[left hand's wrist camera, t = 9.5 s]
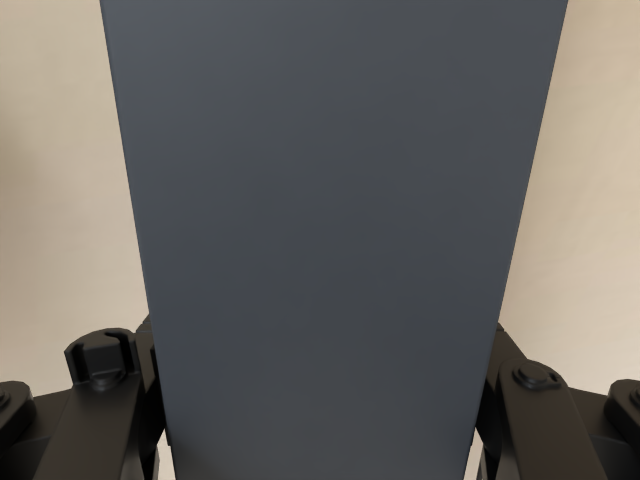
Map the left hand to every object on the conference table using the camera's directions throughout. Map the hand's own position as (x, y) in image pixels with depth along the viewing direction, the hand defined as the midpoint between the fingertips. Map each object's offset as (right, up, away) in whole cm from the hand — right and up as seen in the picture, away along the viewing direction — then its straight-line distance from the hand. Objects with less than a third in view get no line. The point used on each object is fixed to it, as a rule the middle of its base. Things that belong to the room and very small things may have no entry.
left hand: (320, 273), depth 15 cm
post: (0, +19, -7) cm, 20 cm away
